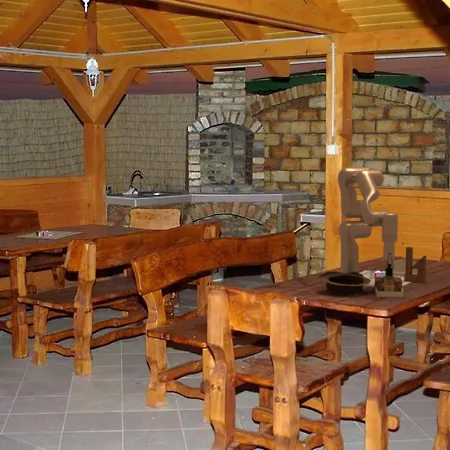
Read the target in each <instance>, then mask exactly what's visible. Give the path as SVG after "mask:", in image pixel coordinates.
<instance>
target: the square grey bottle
mask: <svg viewBox="0 0 450 450" xmlns="http://www.w3.org/2000/svg"><path fill="white" fill-rule="evenodd" d="M392 260H393V259H392ZM386 262H388V261H385V265H386V264H387V263H386ZM392 268H393V261H392ZM384 271H385V270H384ZM384 273H385V274H384V276H383V277H384V279H392V280H393V285H394V277H395V276H392V277H390V276H386V271H385V272H384Z"/></svg>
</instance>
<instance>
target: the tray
mask: <svg viewBox="0 0 450 450" xmlns="http://www.w3.org/2000/svg"><path fill="white" fill-rule="evenodd" d="M374 294H375V298H376V297H378V298H404V297H405V292H404V288H403V287H402V288H401V292H384V291H377V287H375V288H374Z"/></svg>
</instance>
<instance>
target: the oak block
mask: <svg viewBox="0 0 450 450" xmlns="http://www.w3.org/2000/svg"><path fill="white" fill-rule="evenodd" d="M385 285H392V286H393V280H392V279H384V292H385Z"/></svg>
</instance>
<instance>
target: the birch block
mask: <svg viewBox="0 0 450 450" xmlns="http://www.w3.org/2000/svg"><path fill="white" fill-rule="evenodd" d="M393 289H394V287H393V286H392V285H385V292H393Z"/></svg>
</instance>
